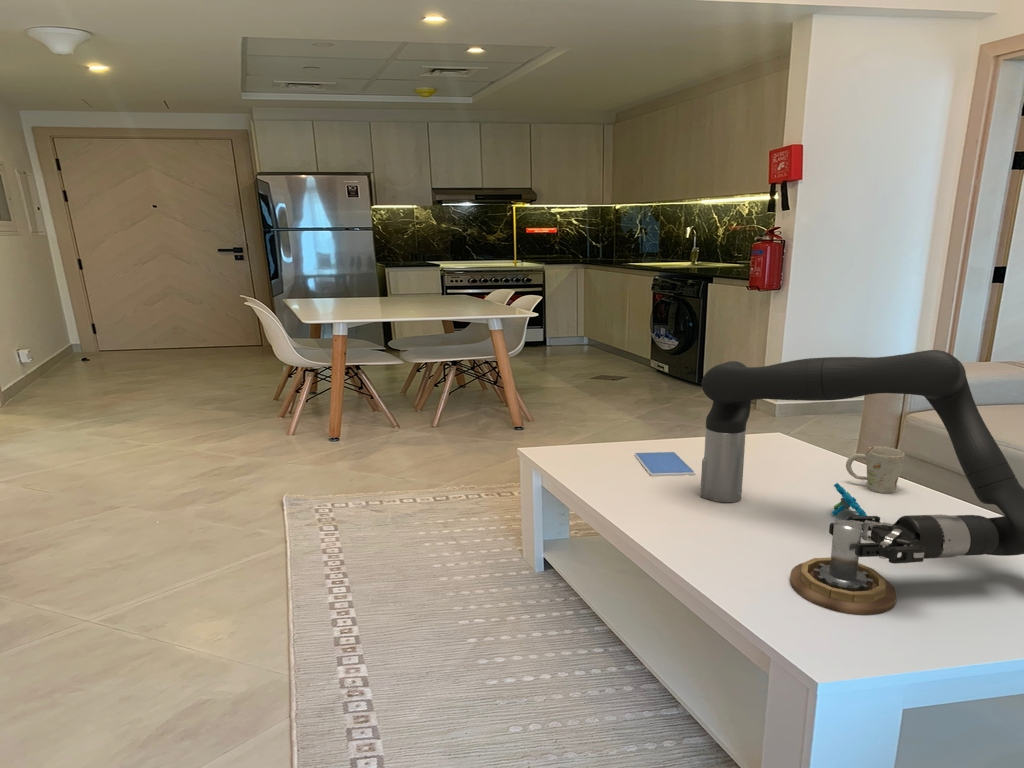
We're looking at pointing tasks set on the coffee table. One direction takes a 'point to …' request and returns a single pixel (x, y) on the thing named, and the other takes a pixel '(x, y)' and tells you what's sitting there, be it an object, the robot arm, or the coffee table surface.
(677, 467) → the blue flat plate
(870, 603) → the carrier disc
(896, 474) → the mug
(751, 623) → the coffee table surface
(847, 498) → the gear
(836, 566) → the gear
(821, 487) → the coffee table surface
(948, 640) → the coffee table surface
